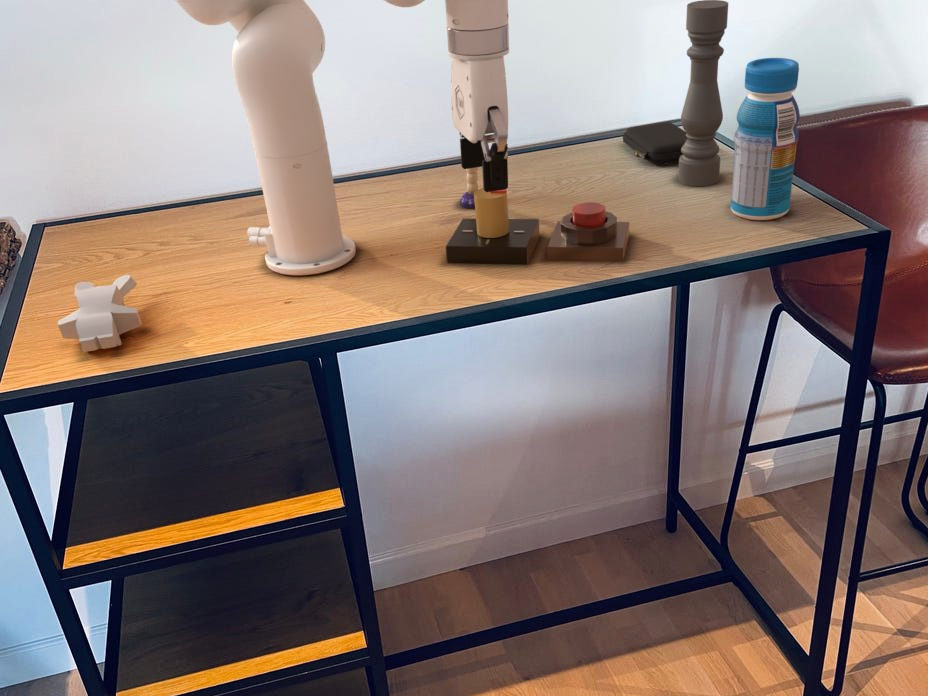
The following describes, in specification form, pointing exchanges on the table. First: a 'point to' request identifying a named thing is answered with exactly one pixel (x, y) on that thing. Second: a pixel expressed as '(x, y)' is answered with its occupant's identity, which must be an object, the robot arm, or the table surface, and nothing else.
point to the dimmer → (493, 244)
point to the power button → (588, 214)
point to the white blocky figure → (101, 315)
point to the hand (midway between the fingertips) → (484, 178)
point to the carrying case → (656, 142)
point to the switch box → (589, 241)
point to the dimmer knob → (491, 213)
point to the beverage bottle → (766, 140)
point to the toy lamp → (470, 189)
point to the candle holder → (703, 93)
